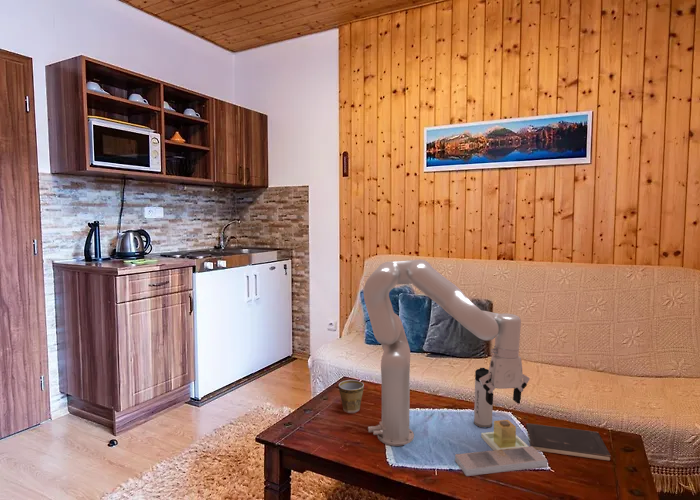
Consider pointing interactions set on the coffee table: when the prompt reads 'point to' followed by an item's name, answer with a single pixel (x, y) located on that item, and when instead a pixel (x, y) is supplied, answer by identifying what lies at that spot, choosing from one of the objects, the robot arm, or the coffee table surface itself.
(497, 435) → the block
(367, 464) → the coffee table surface
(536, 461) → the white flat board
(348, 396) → the ceramic cup
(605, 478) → the coffee table surface
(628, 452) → the coffee table surface
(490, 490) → the coffee table surface
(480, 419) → the travel mug
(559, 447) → the hardcover book
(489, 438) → the tray
